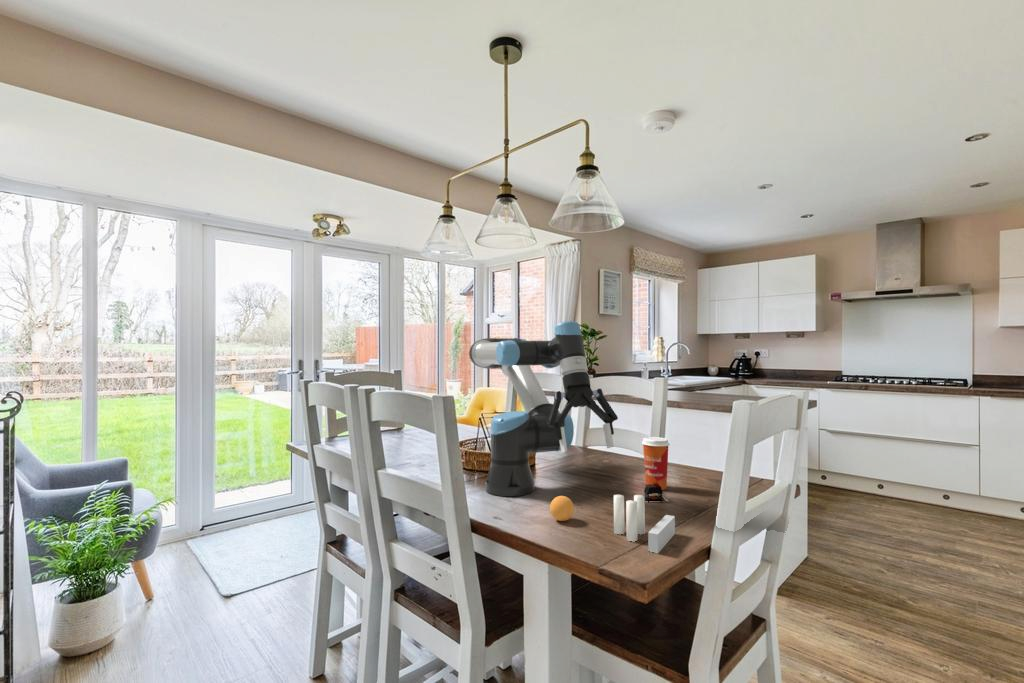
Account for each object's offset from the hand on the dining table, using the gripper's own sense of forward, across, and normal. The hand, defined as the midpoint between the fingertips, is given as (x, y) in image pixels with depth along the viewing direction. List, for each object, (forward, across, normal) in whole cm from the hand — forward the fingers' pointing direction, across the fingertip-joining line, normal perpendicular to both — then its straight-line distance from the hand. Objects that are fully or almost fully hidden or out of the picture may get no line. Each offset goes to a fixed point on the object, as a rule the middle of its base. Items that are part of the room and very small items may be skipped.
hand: (587, 450), depth 130 cm
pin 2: (+21, +3, -14) cm, 25 cm away
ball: (+14, -11, -3) cm, 18 cm away
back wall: (+23, +5, -20) cm, 31 cm away
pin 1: (+22, -1, -17) cm, 28 cm away
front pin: (+20, -1, -13) cm, 24 cm away
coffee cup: (+12, +28, +16) cm, 34 cm away
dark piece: (+16, +20, +6) cm, 27 cm away
